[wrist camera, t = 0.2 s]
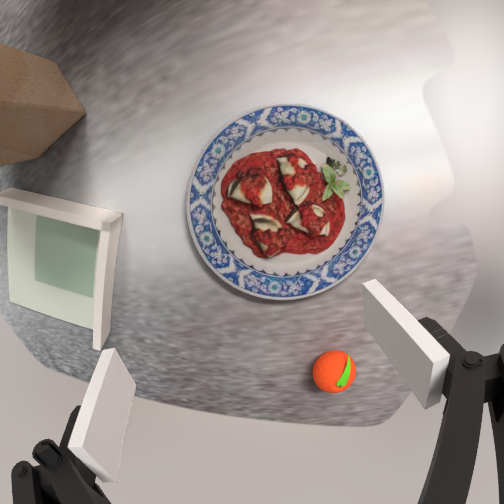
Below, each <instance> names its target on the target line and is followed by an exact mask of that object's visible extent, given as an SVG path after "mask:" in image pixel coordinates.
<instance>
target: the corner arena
mask: <svg viewBox="0 0 504 504" xmlns="http://www.w3.org/2000/svg"><path fill="white" fill-rule="evenodd" d="M0 205H3V206H7V207H8V227H7V258H8V282H9V296H10V302H13V303H15V304H18V305H21V306H23V307H26V308H29V309H32V310H34V311H37V312H40V313H43V314H46V315H49V316H52V317H54V318H57V319H60V320H64V321H67V322H70V323H73V324H76V325H79V326H82V327H86V328H89V329H92V330H93V349H96V350H99V351H101V349H102V347H103V345H104V343H105V341H106V339H107V337H108V335H109V333H110V323H111V309H112V297H113V287H114V277H115V268H116V260H117V252H118V245H119V238H120V231H121V224H122V218H123V213H119V212H115V211H111V210H107V209H102V208H98V207H94V206H90V205H85V204H81V203H77V202H72V201H68V200H64V199H59V198H55V197H51V196H46V195H42V194H38V193H33V192H29V191H25V190H20V189H16V188H9V189H6V190H3V191H0Z"/></svg>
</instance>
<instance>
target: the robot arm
mask: <svg viewBox="0 0 504 504" xmlns="http://www.w3.org/2000/svg"><path fill="white" fill-rule="evenodd" d="M362 288H363V301H364V315H365V327H366V328H367V330H368V331H369V332H370V334H371V335H372V336H373V338H374V339H375V340H376V342H377V343H378V344H379V346H380V347H381V349H382V350H383V351H384V353H385V354H386V355H387V357H388V358H389V360H390V361H391V362H392V364H393V365H394V367H395V368H396V369H397V371H398V372H399V374H400V375H401V376H402V378H403V379H404V381H405V382H406V383H407V385H408V386H409V388H410V389H411V391H412V392H413V393H414V395H415V396H416V398H417V399H418V401H419V402H420V403H421V405H422V406H423V408H424V409H427V408H429V407H431V406H433V405H435V404H437V403H439V402H440V399H441V395H442V394H443V395H444V396H445V397H446V399H447V400H446V404H445V408H444V411H443V419H442V423H441V428H440V432H439V436H438V440H437V444H436V448H435V451H434V455H433V458H432V462H431V465H430V469H429V472H428V475H427V478H426V481H425V484H424V487H423V490H422V493H421V496H420V498H419V501H418V504H465V503H466V499H467V496H468V491H469V488H470V483H471V479H472V474H473V470H474V465H475V460H476V455H477V449H478V442H479V436H480V429H481V422H482V413H483V403H486V402H488V406H489V412H490V417H491V423H492V429H493V436H494V443H495V451H496V459H497V471H498V484H499V504H504V344H503V345H502V346H501V349H500V352H499V353H497V354H493V355H489V356H482V355H481V354H479V353H478V352H474V351H466V350H465V349H464V348H462V346H461V345H460V344H459V343H458V342H457V341H456V340H455V339H454V338H453V337H452V336H451V335H450V334H448V332H447V331H446V330H445V329H443V328H442V327H441V326H440V325H439V324H438V323H437V322H436V321H435V320H432V319H430V318H428V317H425V318H423V319H420V320H418V321H417V320H416V319H415V318H414V317H413V316H412V315H411V314H410V313H409V312H408V311H407V310H406V309H405V308H404V307H403V306H402V305H401V304H400V303H399V302H398V301H397V300H396V299H395V298H394V297H393V296H392V295H391V294H390V293H389V292H388V291H387V290H386V289H385V288H384V287H383V286H382V285H381V284H380V283H379V282H378V281H377V280H376V279H374V280H371V281H368V282H365V283H362ZM135 388H136V384H135V382H134V380H133V379H132V377H131V375H130V374H129V372H128V370H127V368H126V367H125V365H124V363H123V361H122V360H121V358H120V356H119V354H118V353H117V351H116V349H115V348H111V349H106V350H103V351H102V353H101V356H100V358H99V361H98V363H97V366H96V368H95V371H94V373H93V376H92V379H91V381H90V384H89V386H88V389H87V392H86V395H85V397H84V400H83V403H82V405H81V406H77V407H76V408H75V409H74V410H73V411H72V413H71V415H70V417H69V420H68V423H67V426H66V430H65V432H64V434H63V437H62V440H61V443H60V446H59V447H58V446H57V445H56V444H55V442H54V441H53V440H50V439H45V440H42V441H40V442H39V443H38V444H37V445H36V446H35V447H34V449H33V453H32V455H33V458H34V459H35V460H36V461H37V462H38V463H39V464H40V465H38V466H35V467H33V466H32V465H31V464H30V463H28V462H27V461H20V462H19V463H17V464H16V465H15V466H14V467H13V470H12V474H11V478H12V494H13V504H111V503H110V502H109V500H108V499H107V498H106V496H105V495H104V493H103V491H102V490H101V489H100V487H99V486H98V485H97V484H96V483H95V478H96V476H97V477H98V478H99V479H100V480H101V481H103V482H118V477H119V470H120V464H121V459H122V453H123V448H124V441H125V437H126V431H127V426H128V421H129V417H130V411H131V407H132V402H133V398H134V393H135Z"/></svg>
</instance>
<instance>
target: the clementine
mask: <svg viewBox="0 0 504 504" xmlns="http://www.w3.org/2000/svg"><path fill="white" fill-rule="evenodd" d="M355 374H356V367H355V364H354V361H353V360H352V358H351V357H350V356H349V354H346V353H344V352H342V351H329V352H326V353H324V354H323V355H321V356H320V357H319V358H318V359H317V361H316V362H315V364H314V367H313V379H314V381H315V383H316V385H317V386H318V387H319V388H320V389H322V390H323V391H325V392H329V393H338V392H341V391H344V390H345V389H347V388H348V387H349V386H350V385H351V384H352V382H353V381H354V378H355Z"/></svg>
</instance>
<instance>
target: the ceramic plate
mask: <svg viewBox="0 0 504 504" xmlns="http://www.w3.org/2000/svg"><path fill="white" fill-rule="evenodd" d="M383 212H384V186H383V180H382V175H381V171H380V168H379V165H378V163H377V161H376V158H375V156H374V154H373V153H372V151H371V149H370V147H369V146H368V144H367V143H366V142H365V140H364V139H363V138H362V137H361V135H360V134H359V133H358V132H357V131H356V130H355V129H354V128H353V127H352V126H350V125H349V124H348V123H346V122H345V121H344V120H342V119H341V118H339V117H338V116H336V115H334V114H332V113H330V112H328V111H326V110H323V109H320V108H317V107H314V106H310V105H305V104H298V103H278V104H271V105H265V106H262V107H259V108H255V109H252V110H250V111H247V112H245V113H243V114H241V115H239V116H237V117H236V118H234V119H233V120H231V121H230V122H228V123H227V124H226V125H224V126H223V127H222V128H221V129H220V130H218V131H217V132H216V133H215V134H214V135H213V137H212V138H211V139H210V140H209V141H208V143H207V144H206V145H205V147H204V148H203V149H202V151H201V153H200V154H199V156H198V158H197V160H196V162H195V164H194V166H193V169H192V172H191V175H190V178H189V182H188V187H187V194H186V214H187V221H188V226H189V230H190V234H191V237H192V239H193V242H194V244H195V246H196V248H197V250H198V252H199V254H200V255H201V257H202V258H203V260H204V261H205V262H206V264H207V265H208V266H209V267H210V269H211V270H212V271H213V272H214V273H215V274H216V275H217V276H219V277H220V278H221V279H222V280H224V281H225V282H226V283H228V284H229V285H231V286H232V287H234V288H236V289H238V290H240V291H242V292H244V293H247V294H249V295H253V296H256V297H260V298H264V299H271V300H294V299H300V298H305V297H309V296H313V295H316V294H318V293H321V292H323V291H325V290H328V289H330V288H331V287H333V286H335V285H337V284H338V283H340V282H341V281H342V280H344V279H345V278H346V277H348V276H349V275H350V274H351V273H352V272H353V271H354V270H355V269H356V268H357V267H358V266H359V265H360V264H361V262H362V261H363V260H364V259H365V257H366V256H367V254H368V253H369V252H370V250H371V248H372V246H373V244H374V242H375V240H376V238H377V235H378V233H379V230H380V227H381V223H382V218H383Z"/></svg>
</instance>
